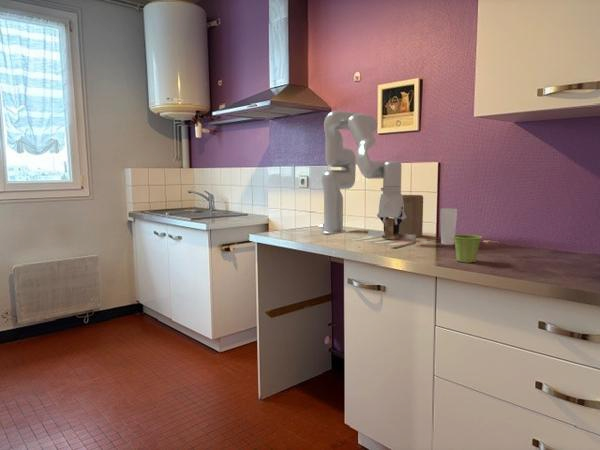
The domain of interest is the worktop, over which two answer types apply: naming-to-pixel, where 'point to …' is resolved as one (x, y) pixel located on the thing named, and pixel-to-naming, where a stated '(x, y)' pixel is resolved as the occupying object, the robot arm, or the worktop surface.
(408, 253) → the worktop surface
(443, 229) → the drinking glass
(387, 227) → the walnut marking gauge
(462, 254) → the plant pot
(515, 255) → the worktop surface
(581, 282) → the worktop surface
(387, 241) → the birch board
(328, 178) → the robot arm
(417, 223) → the wooden block
